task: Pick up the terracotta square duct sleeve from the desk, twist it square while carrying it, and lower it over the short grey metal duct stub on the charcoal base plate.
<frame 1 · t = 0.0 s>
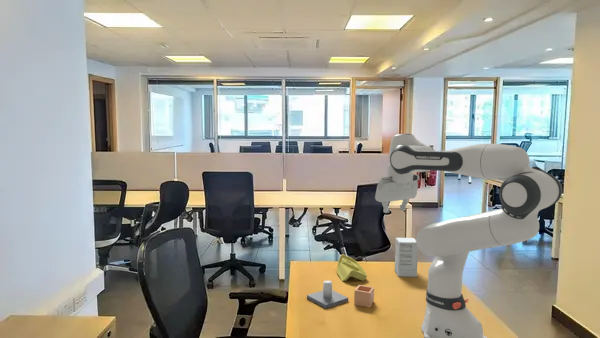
hand: (394, 211, 161), 39 cm above the table, tool pointing down, fingers open, 8 cm apart
sleeve: (364, 303, 170), on the table
supplement box: (405, 274, 205), on the table
plastic component: (351, 275, 203), on the table
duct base: (327, 299, 173), on the table
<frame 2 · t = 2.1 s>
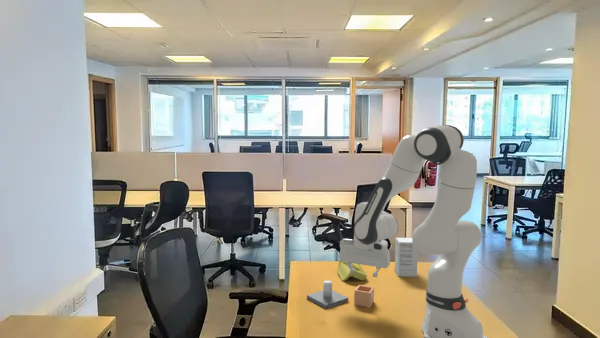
hand: (363, 274, 169), 12 cm above the table, tool pointing down, fingers open, 8 cm apart
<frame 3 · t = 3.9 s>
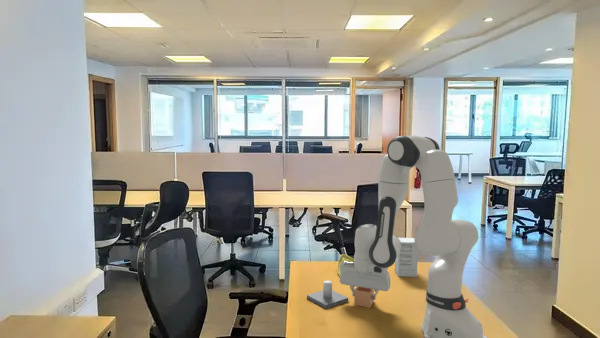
hand: (364, 297, 170), 2 cm above the table, tool pointing down, fingers closed on sleeve, 6 cm apart
sleeve: (364, 303, 170), on the table, touching gripper
everything else where it was.
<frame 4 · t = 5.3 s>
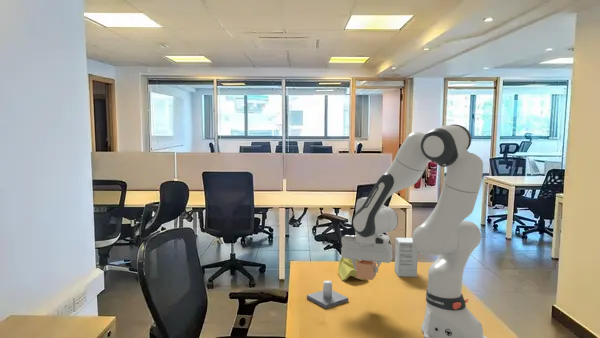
hand: (366, 271, 168), 14 cm above the table, tool pointing down, fingers closed on sleeve, 6 cm apart
sleeve: (366, 276, 168), point 11 cm above the table, touching gripper
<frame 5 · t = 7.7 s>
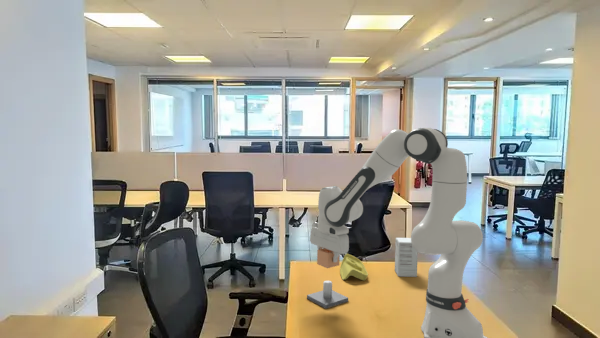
hand: (328, 259, 171), 17 cm above the table, tool pointing down, fingers closed on sleeve, 6 cm apart
sleeve: (328, 264, 171), point 15 cm above the table, touching gripper
when the fingers open (6 cm above the table, at t = 10.5 s): sleeve drops 2 cm, resting on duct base.
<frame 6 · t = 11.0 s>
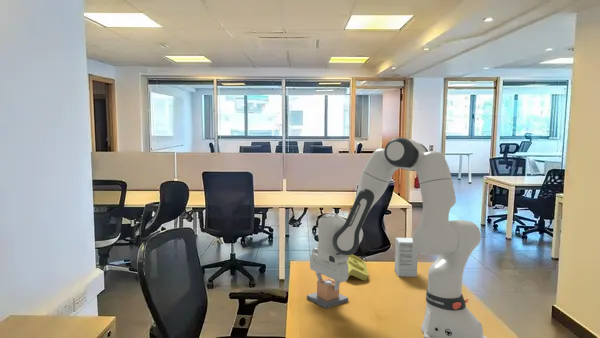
hand: (327, 286, 172), 6 cm above the table, tool pointing down, fingers open, 8 cm apart
sleeve: (327, 296, 173), point 1 cm above the table, touching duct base
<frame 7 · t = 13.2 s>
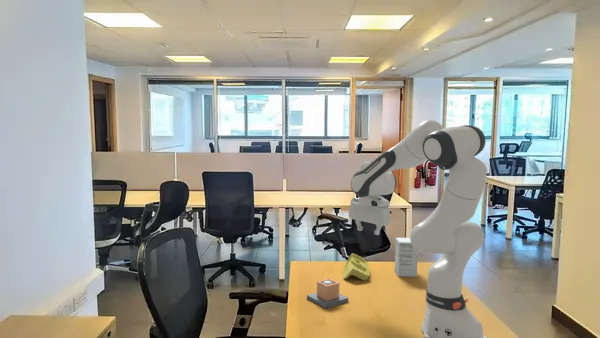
hand: (368, 232, 177), 27 cm above the table, tool pointing down, fingers open, 8 cm apart
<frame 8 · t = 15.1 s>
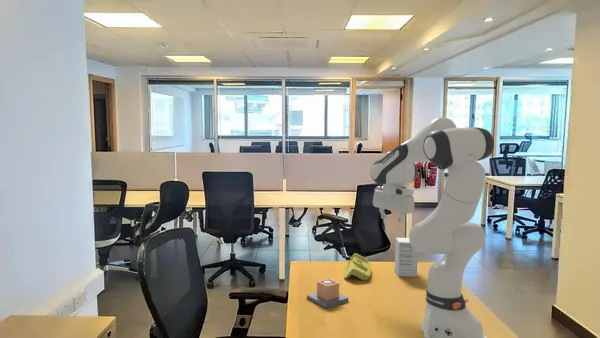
hand: (392, 220, 181), 31 cm above the table, tool pointing down, fingers open, 8 cm apart
at the end: sleeve 0.2 cm from the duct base (horizontally); sleeve point 1.5 cm above the table; sleeve tilted 0° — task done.
